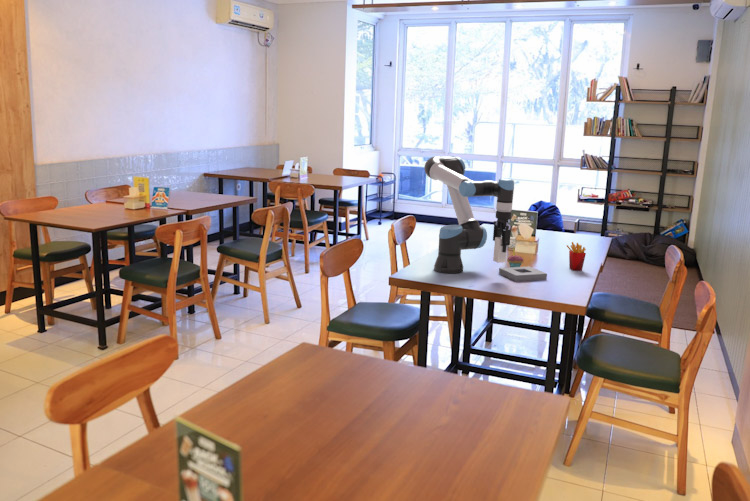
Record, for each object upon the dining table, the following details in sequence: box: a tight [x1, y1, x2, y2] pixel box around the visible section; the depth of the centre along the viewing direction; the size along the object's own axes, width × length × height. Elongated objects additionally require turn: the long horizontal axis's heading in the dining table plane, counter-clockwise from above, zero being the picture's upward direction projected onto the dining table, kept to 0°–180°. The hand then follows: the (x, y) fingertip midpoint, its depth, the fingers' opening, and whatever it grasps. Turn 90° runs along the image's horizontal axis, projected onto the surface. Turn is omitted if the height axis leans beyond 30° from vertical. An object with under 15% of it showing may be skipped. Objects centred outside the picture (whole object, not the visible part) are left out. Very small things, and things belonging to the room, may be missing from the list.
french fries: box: [566, 241, 587, 272], centre depth 343 cm, size 9×8×15 cm
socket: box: [498, 266, 548, 282], centre depth 326 cm, size 18×16×3 cm
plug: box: [492, 236, 508, 263], centre depth 316 cm, size 4×4×12 cm
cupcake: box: [506, 246, 525, 267], centre depth 342 cm, size 9×8×12 cm
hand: (499, 257), depth 317 cm, fingers closed on plug, 4 cm apart
